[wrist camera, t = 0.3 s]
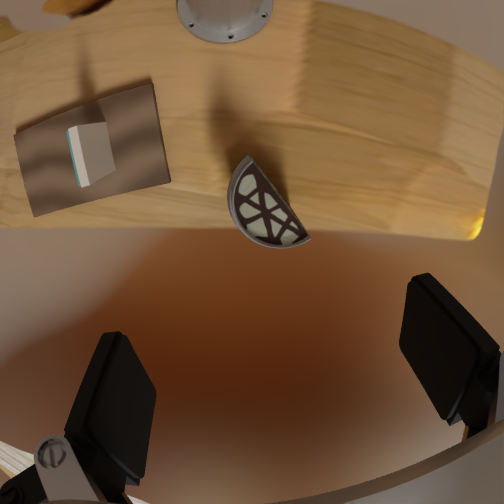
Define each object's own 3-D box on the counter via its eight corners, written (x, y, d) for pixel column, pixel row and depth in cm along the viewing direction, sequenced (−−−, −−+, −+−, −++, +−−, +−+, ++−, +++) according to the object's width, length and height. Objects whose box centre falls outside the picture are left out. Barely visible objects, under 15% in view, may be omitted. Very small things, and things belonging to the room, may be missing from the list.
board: (17, 134, 34) (13, 135, 33) (153, 84, 35) (151, 83, 34) (37, 215, 41) (34, 217, 39) (171, 181, 41) (169, 182, 40)
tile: (95, 124, 35) (65, 129, 27) (105, 121, 35) (76, 125, 27) (105, 172, 38) (78, 188, 30) (115, 169, 38) (89, 185, 30)
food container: (208, 175, 41) (203, 193, 32) (244, 147, 40) (249, 157, 31) (262, 239, 46) (271, 272, 37) (296, 214, 44) (314, 242, 35)
